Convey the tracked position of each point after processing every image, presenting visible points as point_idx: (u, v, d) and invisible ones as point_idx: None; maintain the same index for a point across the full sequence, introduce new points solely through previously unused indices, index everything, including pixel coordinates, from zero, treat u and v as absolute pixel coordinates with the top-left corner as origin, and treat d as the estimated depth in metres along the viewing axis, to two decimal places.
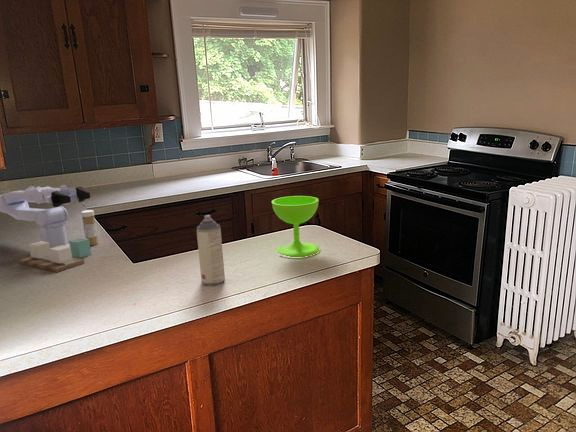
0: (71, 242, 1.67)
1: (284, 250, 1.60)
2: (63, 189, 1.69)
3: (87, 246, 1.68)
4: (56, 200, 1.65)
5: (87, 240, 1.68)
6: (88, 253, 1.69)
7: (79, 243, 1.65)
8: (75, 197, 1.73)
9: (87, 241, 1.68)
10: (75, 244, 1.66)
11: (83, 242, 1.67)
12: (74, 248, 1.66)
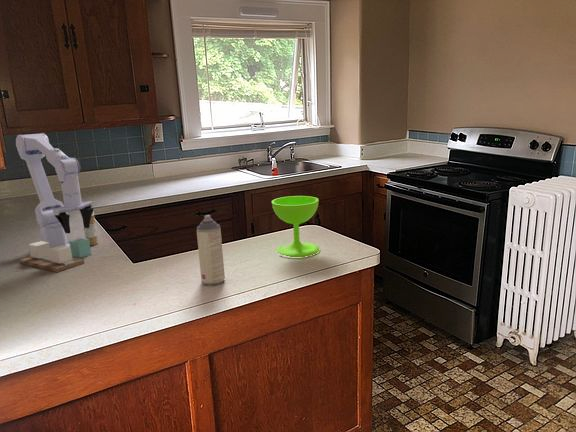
0: (71, 242, 1.67)
1: (284, 250, 1.60)
2: (77, 208, 1.63)
3: (87, 246, 1.68)
4: None
5: (87, 240, 1.68)
6: (88, 253, 1.69)
7: (79, 243, 1.65)
8: None
9: (87, 241, 1.68)
10: (75, 244, 1.66)
11: (83, 242, 1.67)
12: (74, 248, 1.66)
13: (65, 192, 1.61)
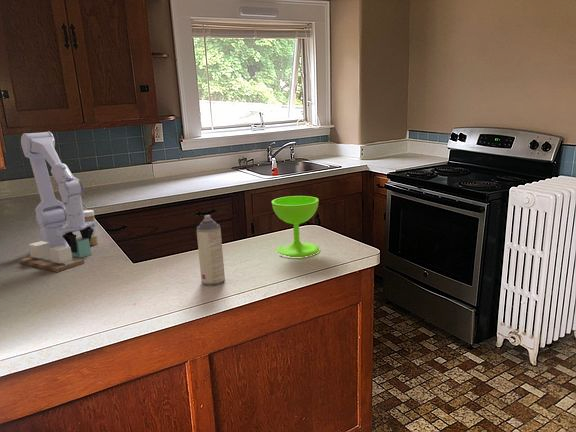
0: None
1: (284, 250, 1.60)
2: (80, 228, 1.65)
3: (87, 246, 1.68)
4: None
5: (87, 240, 1.68)
6: (88, 253, 1.69)
7: (79, 243, 1.65)
8: None
9: (87, 241, 1.68)
10: None
11: (83, 242, 1.67)
12: None
13: (68, 213, 1.63)
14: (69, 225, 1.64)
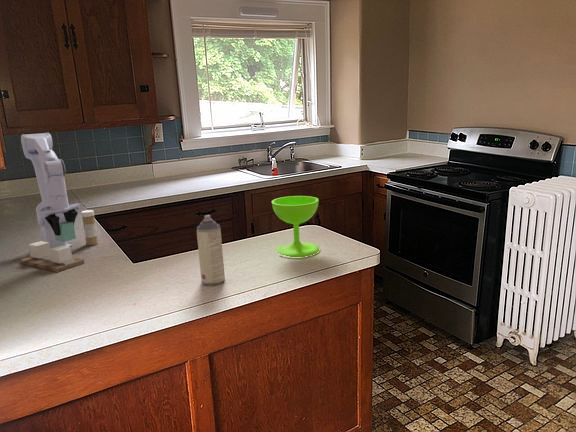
0: None
1: (284, 250, 1.60)
2: (64, 210, 1.60)
3: (71, 230, 1.63)
4: None
5: (72, 223, 1.63)
6: (73, 237, 1.64)
7: (63, 226, 1.60)
8: None
9: (71, 224, 1.63)
10: (59, 227, 1.61)
11: (67, 225, 1.62)
12: None
13: (50, 194, 1.58)
14: (52, 207, 1.59)
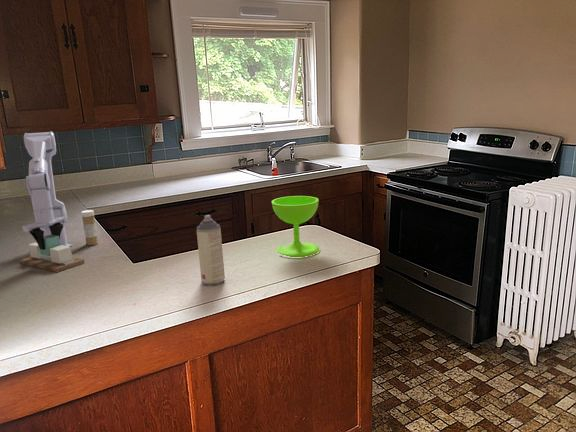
0: None
1: (284, 250, 1.60)
2: None
3: (57, 243, 1.60)
4: None
5: (57, 237, 1.60)
6: None
7: (48, 240, 1.57)
8: None
9: (57, 238, 1.60)
10: (44, 241, 1.58)
11: (52, 239, 1.59)
12: None
13: (33, 207, 1.55)
14: (36, 220, 1.56)
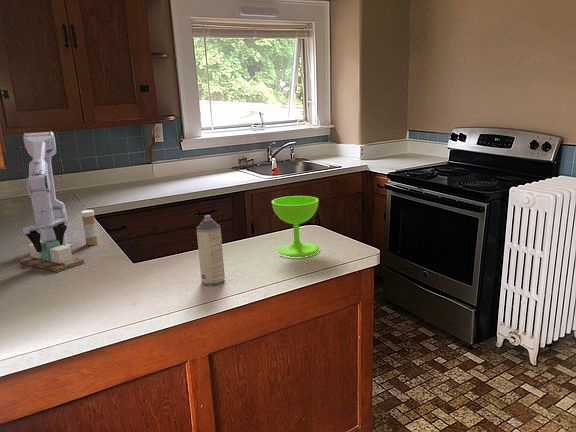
0: None
1: (284, 250, 1.60)
2: (49, 226, 1.57)
3: None
4: None
5: (58, 242, 1.60)
6: None
7: (48, 245, 1.58)
8: None
9: (57, 243, 1.60)
10: (44, 246, 1.58)
11: (53, 244, 1.59)
12: (44, 250, 1.59)
13: (33, 209, 1.56)
14: (37, 222, 1.56)
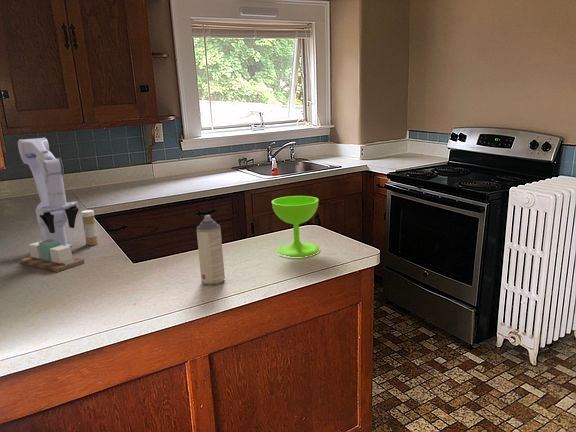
0: (40, 244, 1.59)
1: (284, 250, 1.60)
2: (61, 208, 1.65)
3: None
4: None
5: (58, 242, 1.60)
6: None
7: (48, 245, 1.58)
8: None
9: (57, 243, 1.60)
10: (44, 246, 1.58)
11: (53, 244, 1.59)
12: (44, 250, 1.59)
13: (48, 192, 1.63)
14: (50, 204, 1.64)
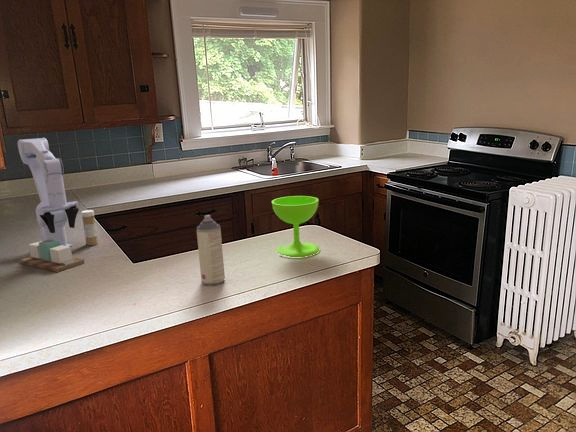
0: (40, 244, 1.59)
1: (284, 250, 1.60)
2: (62, 208, 1.65)
3: None
4: None
5: (58, 242, 1.60)
6: None
7: (48, 245, 1.58)
8: None
9: (57, 243, 1.60)
10: (44, 246, 1.58)
11: (53, 244, 1.59)
12: (44, 250, 1.59)
13: (48, 192, 1.63)
14: (50, 204, 1.64)
